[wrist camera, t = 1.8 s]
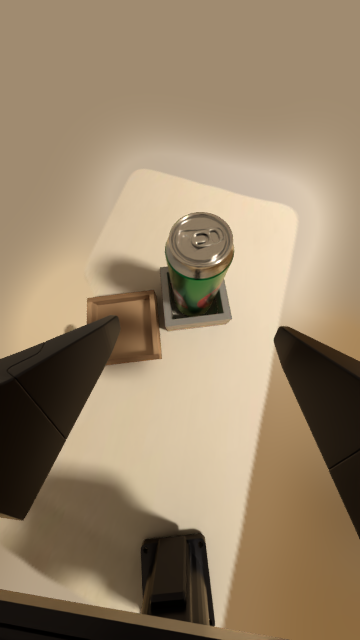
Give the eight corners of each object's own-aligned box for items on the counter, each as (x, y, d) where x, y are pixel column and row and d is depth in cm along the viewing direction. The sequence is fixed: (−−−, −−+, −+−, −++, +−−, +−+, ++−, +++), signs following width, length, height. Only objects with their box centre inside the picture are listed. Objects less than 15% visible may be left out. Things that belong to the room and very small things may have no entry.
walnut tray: (161, 358, 20) (159, 358, 19) (95, 366, 21) (85, 367, 19) (156, 295, 22) (153, 290, 21) (95, 303, 23) (87, 298, 21)
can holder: (225, 324, 21) (232, 318, 18) (168, 331, 21) (165, 326, 18) (216, 272, 23) (220, 259, 20) (163, 278, 23) (159, 267, 20)
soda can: (172, 288, 23) (156, 215, 11) (206, 280, 23) (227, 200, 11) (179, 321, 22) (170, 279, 10) (215, 313, 22) (249, 262, 10)
